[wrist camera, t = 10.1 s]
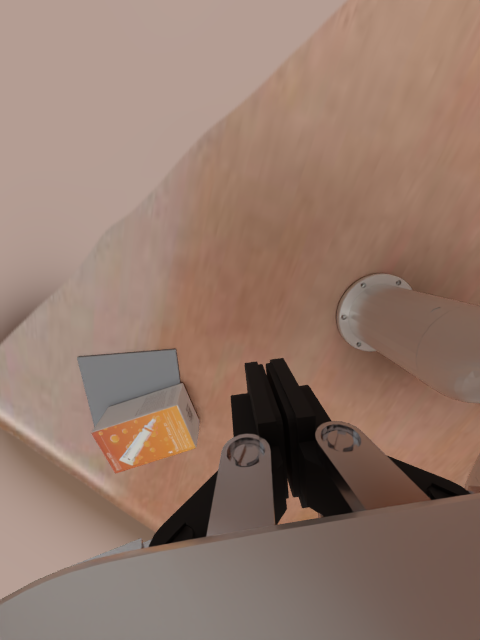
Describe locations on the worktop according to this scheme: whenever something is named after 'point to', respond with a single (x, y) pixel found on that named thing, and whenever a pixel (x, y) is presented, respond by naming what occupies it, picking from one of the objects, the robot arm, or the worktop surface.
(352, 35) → the worktop surface
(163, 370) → the mat
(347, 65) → the worktop surface
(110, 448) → the small box
